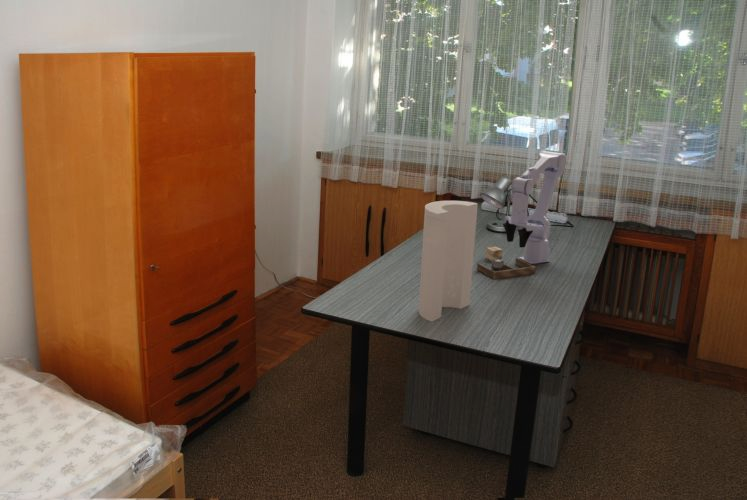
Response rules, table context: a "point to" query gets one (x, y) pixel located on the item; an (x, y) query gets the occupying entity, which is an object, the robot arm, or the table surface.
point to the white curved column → (447, 256)
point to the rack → (508, 270)
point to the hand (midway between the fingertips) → (516, 244)
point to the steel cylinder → (497, 265)
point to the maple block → (494, 253)
